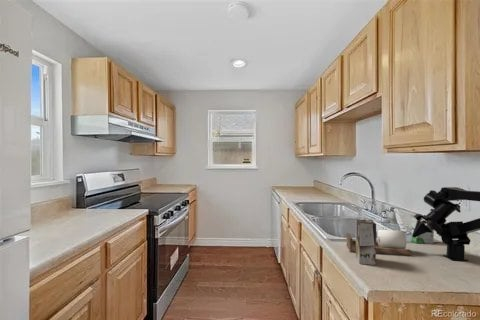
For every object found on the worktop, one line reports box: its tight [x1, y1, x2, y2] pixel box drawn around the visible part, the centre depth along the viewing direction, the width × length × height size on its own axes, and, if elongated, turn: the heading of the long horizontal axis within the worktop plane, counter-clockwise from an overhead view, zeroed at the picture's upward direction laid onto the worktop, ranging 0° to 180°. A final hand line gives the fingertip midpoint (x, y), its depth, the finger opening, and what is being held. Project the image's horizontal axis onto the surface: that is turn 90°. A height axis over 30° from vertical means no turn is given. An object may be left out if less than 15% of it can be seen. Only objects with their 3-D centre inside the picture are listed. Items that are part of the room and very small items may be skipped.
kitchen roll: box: [376, 229, 407, 249], centre depth 138 cm, size 10×8×8 cm
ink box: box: [411, 217, 435, 245], centre depth 153 cm, size 9×5×12 cm, turn 88°
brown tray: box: [346, 232, 411, 257], centre depth 139 cm, size 24×11×6 cm, turn 78°
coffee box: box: [355, 219, 377, 266], centre depth 125 cm, size 9×6×16 cm
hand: (412, 236), depth 136 cm, fingers closed
